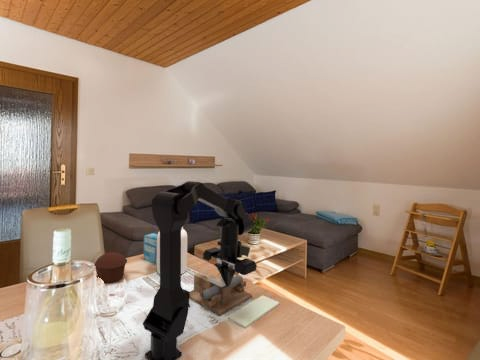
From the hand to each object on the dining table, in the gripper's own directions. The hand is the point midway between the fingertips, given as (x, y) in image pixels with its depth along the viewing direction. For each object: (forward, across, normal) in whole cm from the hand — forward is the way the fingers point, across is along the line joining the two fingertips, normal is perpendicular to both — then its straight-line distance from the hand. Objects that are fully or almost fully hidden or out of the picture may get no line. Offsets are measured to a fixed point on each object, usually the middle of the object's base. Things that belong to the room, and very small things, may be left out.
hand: (227, 285), depth 86 cm
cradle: (+7, +7, -3) cm, 11 cm away
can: (+8, +36, -4) cm, 37 cm away
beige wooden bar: (+1, +5, 0) cm, 5 cm away
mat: (+7, -8, -5) cm, 12 cm away
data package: (+8, +50, -5) cm, 51 cm away
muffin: (+8, +46, +17) cm, 50 cm away
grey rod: (+3, +4, -3) cm, 6 cm away
